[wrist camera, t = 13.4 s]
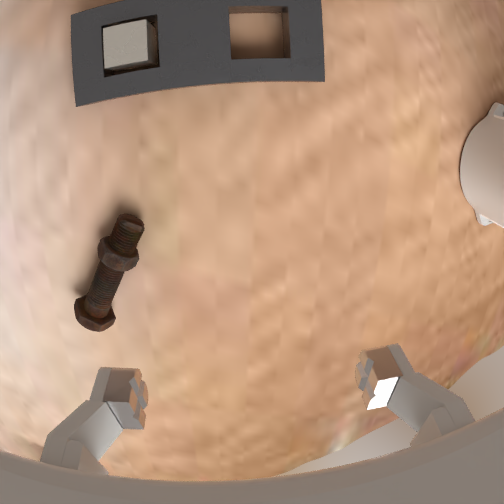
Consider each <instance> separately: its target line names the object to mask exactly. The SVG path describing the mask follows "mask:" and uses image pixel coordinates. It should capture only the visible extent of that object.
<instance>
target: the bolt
mask: <svg viewBox="0 0 504 504" xmlns="http://www.w3.org/2000/svg"><path fill="white" fill-rule="evenodd" d="M143 231H144V223H143V222H142V220H140V219H138V218H137V217H135V216H133V215H129V214H123V215H119V217H118V219H117V223H116V224H115V226H114V229H113V231H112V234H111V235H110V236H106V237H104V238H103V239H101V240H100V243H99V245H98V255H99V258H100V263H99V266H98V269H97V271H96V273H95V276H94V279H93V282H92V285H91V287H90V290H89V293H88V294H87V295H85V296H83V297H80V298H78V299H76V300H75V304H74V311H75V316H76V319H77V321H78V322H79V323H80V324H81V325H82V326H84V327H85V328H87V329H89V330H92V331H97V332H101V331H104V330H106V329H108V328H109V327H110V326H112V325H113V324H114V322H115V319H116V317H115V315H114V312H113V309H112V306H111V303H112V300H113V298H114V295H115V293H116V291H117V288H118V286H119V284H120V281H121V279H122V276H123V274H124V272H125V271H128V270H130V269H132V268H134V267H135V266H136V264H137V262H138V260H139V254H138V250H137V248H136V246H137V243H138V241H139V240H140V237H141V236H142V233H143Z"/></svg>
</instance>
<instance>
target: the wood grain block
mask: <svg viewBox="0 0 504 504" xmlns="http://www.w3.org/2000/svg"><path fill="white" fill-rule="evenodd" d="M103 44H104V65H105V69H111V70H117V71H122V70H127V69H133V68H138V67H144V66H151V65H157V46H156V29H155V28H154V27H153V26H152V25H151V24H150V23H149V22H148V20H147V19H145V20H140V21H134V22H129V23H124V24H120V25H115V26H111V27H107V28H103Z"/></svg>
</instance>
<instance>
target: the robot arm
mask: <svg viewBox="0 0 504 504" xmlns="http://www.w3.org/2000/svg"><path fill="white" fill-rule="evenodd" d="M460 180H461V186H462V190H463V193H464V195H465V197H466V199H467V201H468V202H469V204H470V205H471V206H472V207H473V208H474V210H475V213H476V217H477V221H478V222H479V223H480V224H482V225H484V226H485V225H489V224H491V223H495V224H497V225H499V226H501V227H502V228H504V105H503V104H500V103H498V102H496V103H494V104H493V105H492V107H491V109H490V111H489V113H488V115H487V116H486V117H485V118H484V119H483V120H481V121H480V122H479V123H478V124H477V125H476V126H475V127H474V128H473V130H472V131H471V133H470V134H469V136H468V138H467V140H466V143H465V146H464V149H463V152H462V157H461V164H460ZM359 359H360V362H359V363H358V364H357V365H356V369H355V379H356V383H357V386H358V388H359V389H361V390H362V391H364V392H363V394H362V399H363V401H364V404H365V406H366V409H367V410H369V409H374V408H378V407H383V406H387V408H389V409H390V410H391V411H392V412H393V413H395V414H396V415H397V416H398V417H399V418H401V419H402V420H403V421H404V422H406V423H407V424H408V425H409V426H410V427H412V428H413V429H414V430H415V431H416V432H418V433H417V434H416V435H415V437H414V438H413V440H412V441H411V443H410V446H411V447H409V448H406V449H403V450H400V451H397V452H393V453H390V454H386V455H383V456H380V457H376V458H372V459H368V460H364V461H360V462H356V463H352V464H347V465H343V466H338V467H333V468H328V469H323V470H317V471H311V472H305V473H299V474H292V475H284V476H276V477H267V478H257V479H244V480H225V481H170V480H152V479H139V478H129V477H120V476H112V475H108V471H107V470H106V468H105V467H104V466H103V465H102V464H101V463H100V462H99V459H100V458H101V457H102V456H103V454H104V453H105V452H106V451H107V450H108V448H109V447H110V446H111V445H112V443H113V442H114V441H115V440H116V438H117V437H118V436H119V435H120V433H121V432H122V431H123V429H144V425H145V418H146V414H145V412H144V410H143V409H144V408H145V407H146V406H147V404H148V390H147V386H146V384H145V382H144V381H142V380H141V377H142V374H141V372H140V370H139V369H133V368H110V367H101V368H100V369H99V370H98V373H97V377H96V380H95V383H94V386H93V390H92V393H91V396H90V400H86V401H85V402H84V403H82V404H81V405H80V406H79V407H78V408H77V409H76V410H75V411H74V412H72V413H71V414H70V415H69V416H68V417H67V418H66V419H65V420H64V421H62V422H61V423H60V424H59V425H58V426H57V427H56V428H55V429H53V430H52V431H51V432H50V433H49V434H48V435H47V439H46V442H45V445H44V449H43V452H42V456H41V459H40V461H36V460H32V459H28V458H25V457H21V456H18V455H15V454H12V453H9V452H5V451H2V450H0V504H504V408H502V409H500V410H498V411H496V412H494V413H492V414H490V415H488V416H486V417H484V418H482V419H480V420H478V421H475V420H474V418H473V416H472V414H471V412H470V411H469V409H468V407H467V405H466V403H465V402H464V400H463V398H461V397H459V396H458V395H456V394H454V393H453V392H451V391H449V390H448V389H446V388H444V387H443V386H441V385H439V384H438V383H436V382H434V381H433V380H431V379H429V378H427V377H426V376H424V375H422V374H421V373H419V372H417V373H415V371H414V369H413V368H412V366H411V364H410V362H409V361H408V359H407V357H406V355H405V354H404V352H403V350H402V348H401V347H400V345H399V344H392V345H387V346H381V347H376V348H371V349H365V350H362V351H361V352H360V354H359Z"/></svg>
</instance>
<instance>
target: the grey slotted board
mask: <svg viewBox="0 0 504 504" xmlns="http://www.w3.org/2000/svg"><path fill="white" fill-rule="evenodd" d="M233 13H282V25H283V44H284V58H260V59H234V60H231V46H230V27H229V14H233ZM145 19H147V20H148V22H149V23H150V22H156V21H158V42H159V60H160V67H157V68H151V69H145V70H139V71H134V72H128V73H123V74H119V75H114V76H113V71H112V70H111V69H105V65H104V44H103V28H107V27H111V26H115V25H120V24H124V23H129V22H134V21H140V20H145ZM71 47H72V67H73V81H74V92H75V102H76V107H78V106H84V105H89V104H93V103H97V102H102V101H107V100H111V99H116V98H121V97H126V96H132V95H137V94H143V93H149V92H156V91H163V90H170V89H177V88H186V87H195V86H205V85H216V84H230V83H248V82H325V69H324V44H323V25H322V9H321V0H124V1H119V2H115V3H111V4H107V5H103V6H100V7H96V8H93V9H89V10H86V11H82V12H79V13H76V14H73V15H71Z"/></svg>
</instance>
